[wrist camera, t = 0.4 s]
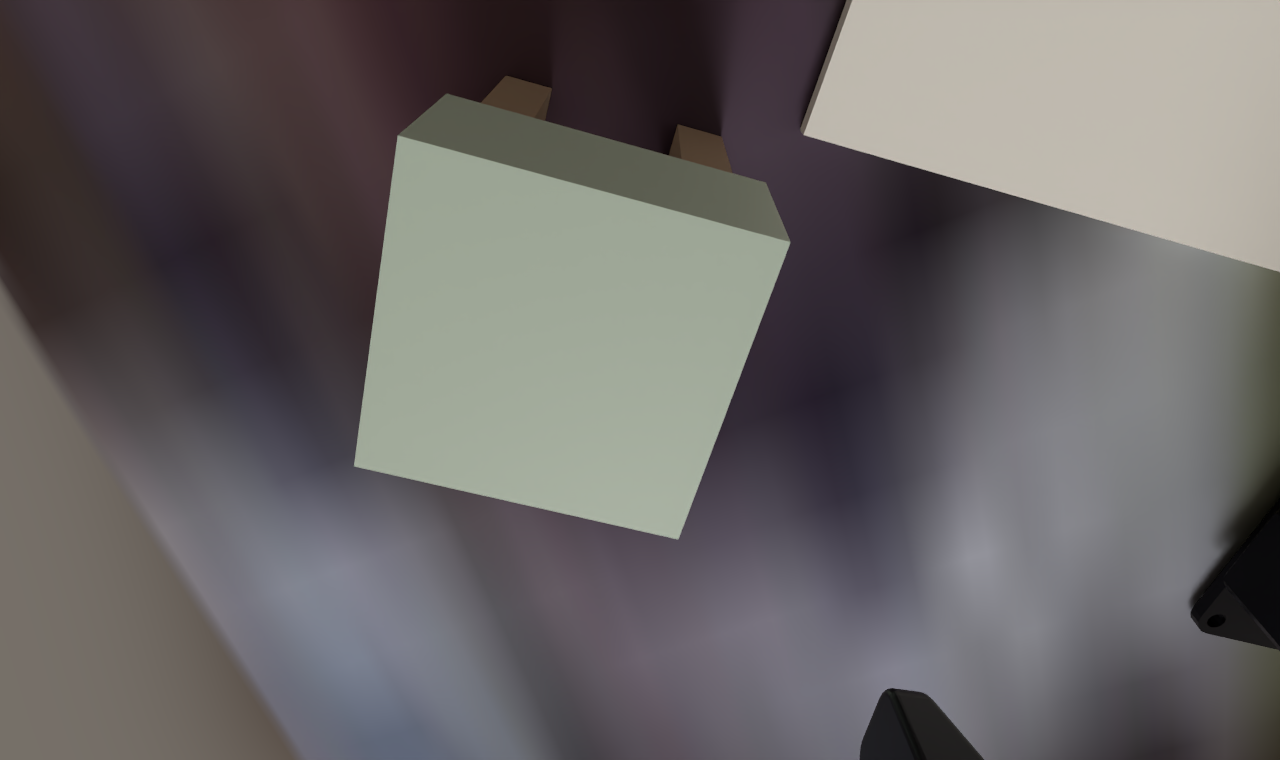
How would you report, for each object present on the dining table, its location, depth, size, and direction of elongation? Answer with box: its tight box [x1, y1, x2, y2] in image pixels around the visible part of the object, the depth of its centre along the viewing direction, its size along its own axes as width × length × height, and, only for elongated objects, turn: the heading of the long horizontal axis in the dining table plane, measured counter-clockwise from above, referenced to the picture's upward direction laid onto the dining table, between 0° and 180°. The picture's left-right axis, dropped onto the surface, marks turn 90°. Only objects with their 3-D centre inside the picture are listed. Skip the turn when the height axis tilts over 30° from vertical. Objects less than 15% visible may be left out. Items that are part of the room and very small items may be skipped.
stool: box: [354, 76, 790, 539], centre depth 16 cm, size 6×6×8 cm
